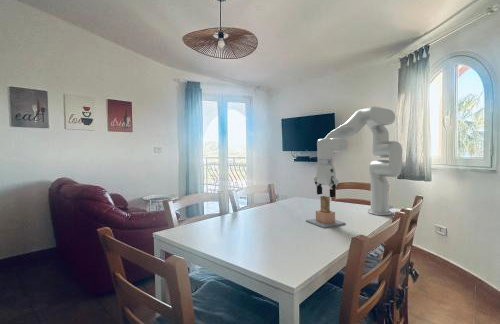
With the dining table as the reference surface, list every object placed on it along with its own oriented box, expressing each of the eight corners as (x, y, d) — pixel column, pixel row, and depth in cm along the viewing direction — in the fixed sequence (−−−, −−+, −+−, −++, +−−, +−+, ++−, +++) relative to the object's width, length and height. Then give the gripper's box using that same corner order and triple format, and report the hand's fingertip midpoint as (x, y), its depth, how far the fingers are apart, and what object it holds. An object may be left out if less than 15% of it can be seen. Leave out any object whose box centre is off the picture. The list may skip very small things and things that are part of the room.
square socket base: (326, 218, 145) (326, 207, 145) (345, 224, 133) (345, 212, 133) (305, 221, 139) (305, 210, 139) (323, 228, 127) (323, 215, 127)
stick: (325, 218, 138) (325, 195, 138) (329, 219, 135) (329, 196, 135) (320, 219, 137) (320, 196, 136) (324, 220, 134) (324, 197, 133)
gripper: (343, 162, 129) (343, 197, 130) (319, 161, 144) (320, 192, 145) (331, 163, 126) (332, 199, 126) (308, 162, 141) (309, 194, 142)
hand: (325, 195), depth 136 cm, fingers open, 9 cm apart
